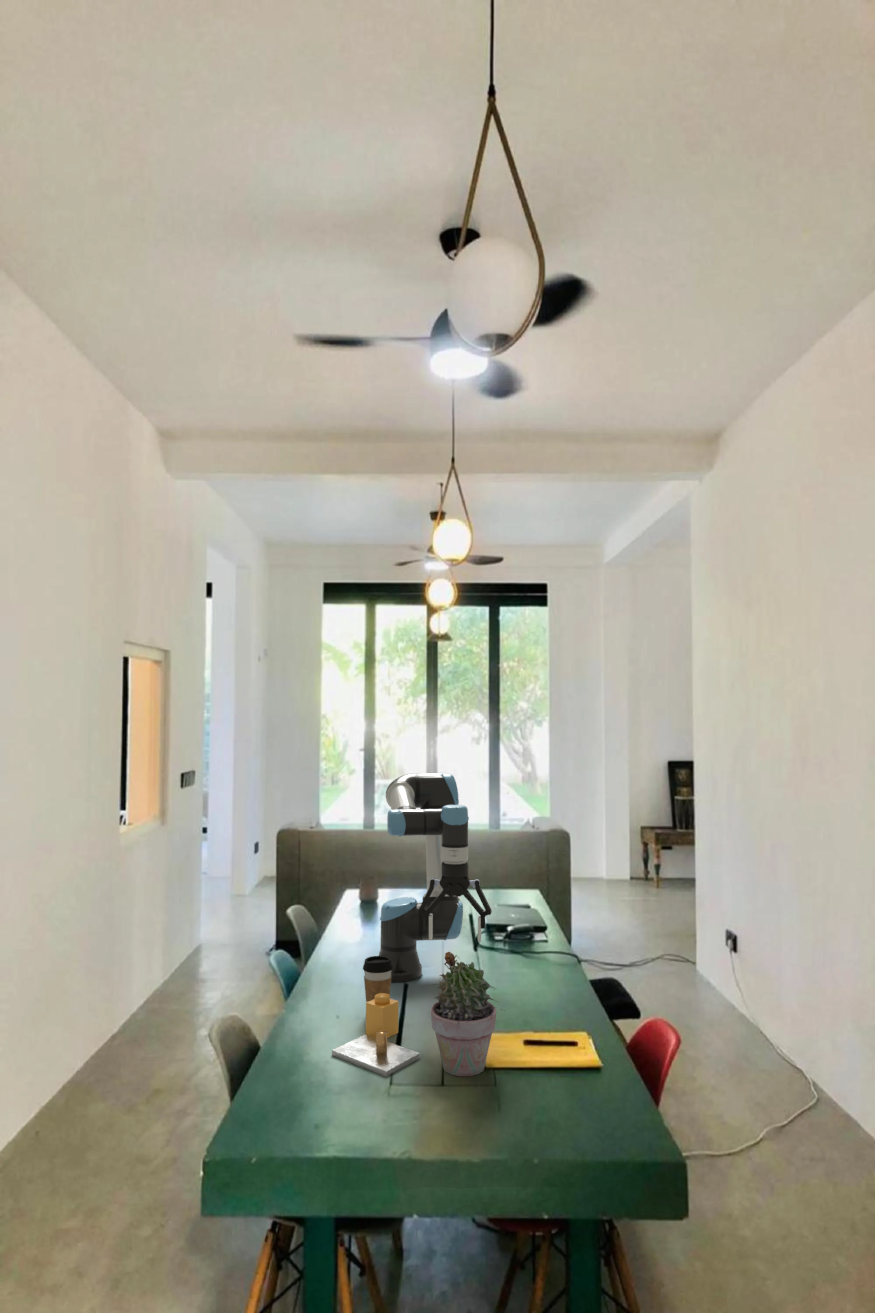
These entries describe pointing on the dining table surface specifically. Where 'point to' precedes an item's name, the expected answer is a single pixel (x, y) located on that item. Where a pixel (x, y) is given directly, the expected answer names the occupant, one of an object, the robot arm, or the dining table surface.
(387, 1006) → the orange knobbed block
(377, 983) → the coffee cup
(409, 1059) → the plate
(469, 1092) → the dining table surface
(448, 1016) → the potted plant
